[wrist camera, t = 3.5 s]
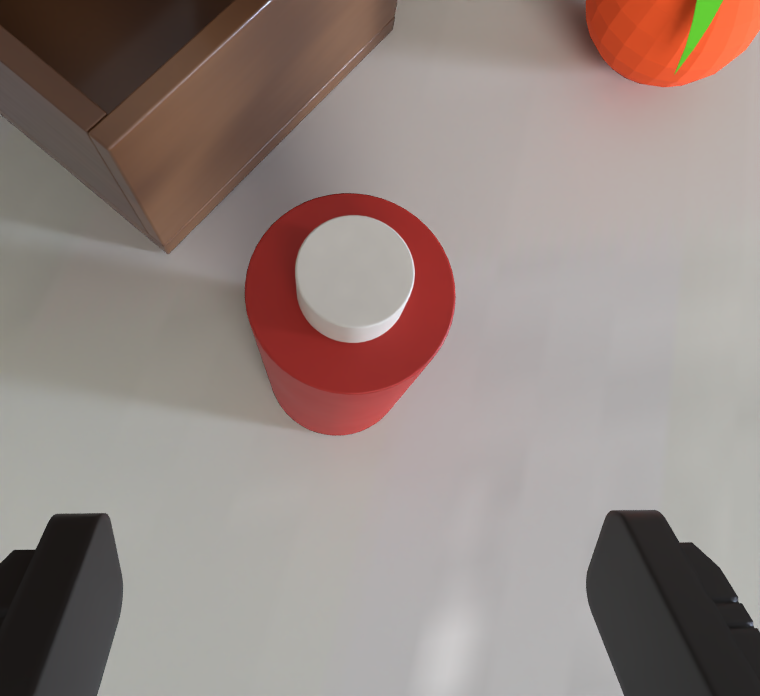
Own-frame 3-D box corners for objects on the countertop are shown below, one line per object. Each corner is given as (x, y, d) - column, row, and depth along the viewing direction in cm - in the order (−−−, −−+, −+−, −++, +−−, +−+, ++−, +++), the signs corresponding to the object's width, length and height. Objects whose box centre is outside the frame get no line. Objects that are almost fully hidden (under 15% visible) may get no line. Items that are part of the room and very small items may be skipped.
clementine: (698, 160, 29) (820, 52, 22) (542, 117, 29) (616, -6, 22) (719, 6, 31) (837, -138, 24) (573, -35, 30) (650, -193, 24)
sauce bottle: (345, 463, 24) (370, 433, 14) (241, 375, 25) (188, 279, 14) (429, 361, 26) (514, 260, 15) (329, 278, 26) (341, 122, 15)
